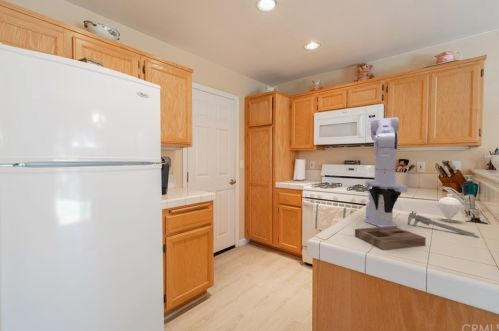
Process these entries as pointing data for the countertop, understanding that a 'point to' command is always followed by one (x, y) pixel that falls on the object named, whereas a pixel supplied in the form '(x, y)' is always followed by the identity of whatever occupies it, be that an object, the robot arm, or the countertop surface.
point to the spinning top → (449, 206)
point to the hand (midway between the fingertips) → (383, 211)
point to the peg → (382, 209)
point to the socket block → (390, 237)
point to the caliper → (437, 224)
